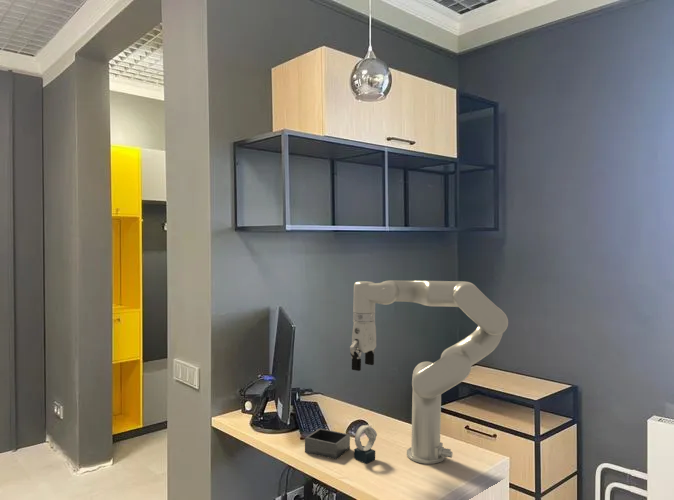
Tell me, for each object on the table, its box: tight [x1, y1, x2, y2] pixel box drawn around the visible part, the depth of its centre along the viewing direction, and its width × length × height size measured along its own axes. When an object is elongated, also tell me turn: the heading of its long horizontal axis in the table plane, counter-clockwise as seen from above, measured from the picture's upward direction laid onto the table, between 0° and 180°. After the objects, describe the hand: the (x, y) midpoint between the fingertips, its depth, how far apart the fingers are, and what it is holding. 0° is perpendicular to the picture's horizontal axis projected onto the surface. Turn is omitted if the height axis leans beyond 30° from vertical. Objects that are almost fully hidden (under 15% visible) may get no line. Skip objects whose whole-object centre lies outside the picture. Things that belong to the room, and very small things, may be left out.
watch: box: [353, 424, 378, 465], centre depth 170 cm, size 6×8×11 cm
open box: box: [304, 427, 351, 460], centre depth 177 cm, size 12×10×5 cm
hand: (362, 367), depth 176 cm, fingers open, 9 cm apart
